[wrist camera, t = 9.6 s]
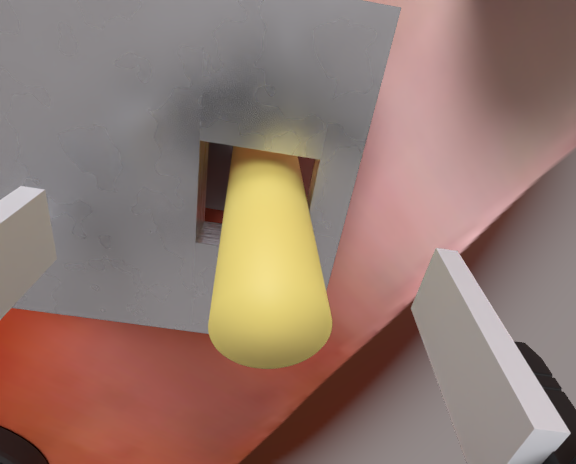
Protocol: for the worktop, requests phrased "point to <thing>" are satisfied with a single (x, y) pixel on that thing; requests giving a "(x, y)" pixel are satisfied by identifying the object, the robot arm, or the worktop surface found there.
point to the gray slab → (175, 133)
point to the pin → (267, 267)
